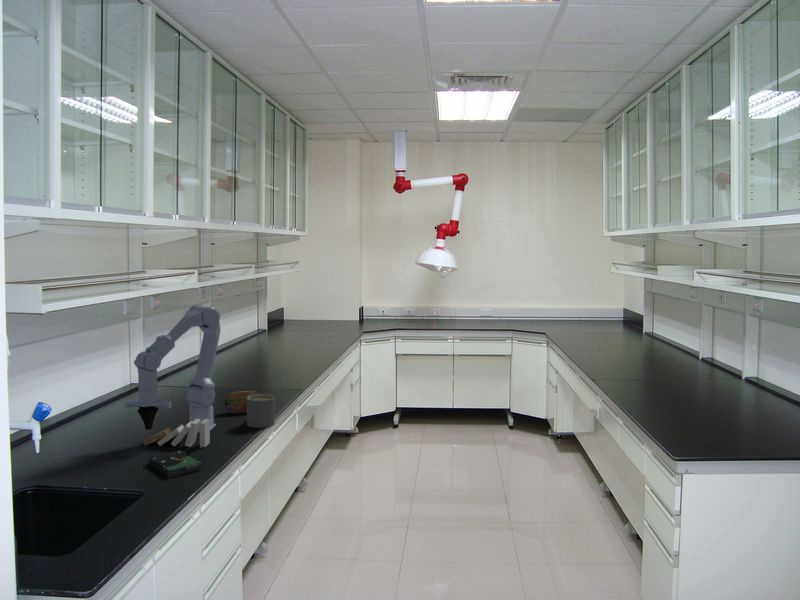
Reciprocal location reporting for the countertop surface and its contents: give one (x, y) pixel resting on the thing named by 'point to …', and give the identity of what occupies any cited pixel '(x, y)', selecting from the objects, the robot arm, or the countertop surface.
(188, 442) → the domino
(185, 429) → the domino
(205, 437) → the domino
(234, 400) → the tin
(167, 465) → the disk drive
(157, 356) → the robot arm
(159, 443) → the domino
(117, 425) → the countertop surface
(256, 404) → the coffee mug
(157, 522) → the countertop surface
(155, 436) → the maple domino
